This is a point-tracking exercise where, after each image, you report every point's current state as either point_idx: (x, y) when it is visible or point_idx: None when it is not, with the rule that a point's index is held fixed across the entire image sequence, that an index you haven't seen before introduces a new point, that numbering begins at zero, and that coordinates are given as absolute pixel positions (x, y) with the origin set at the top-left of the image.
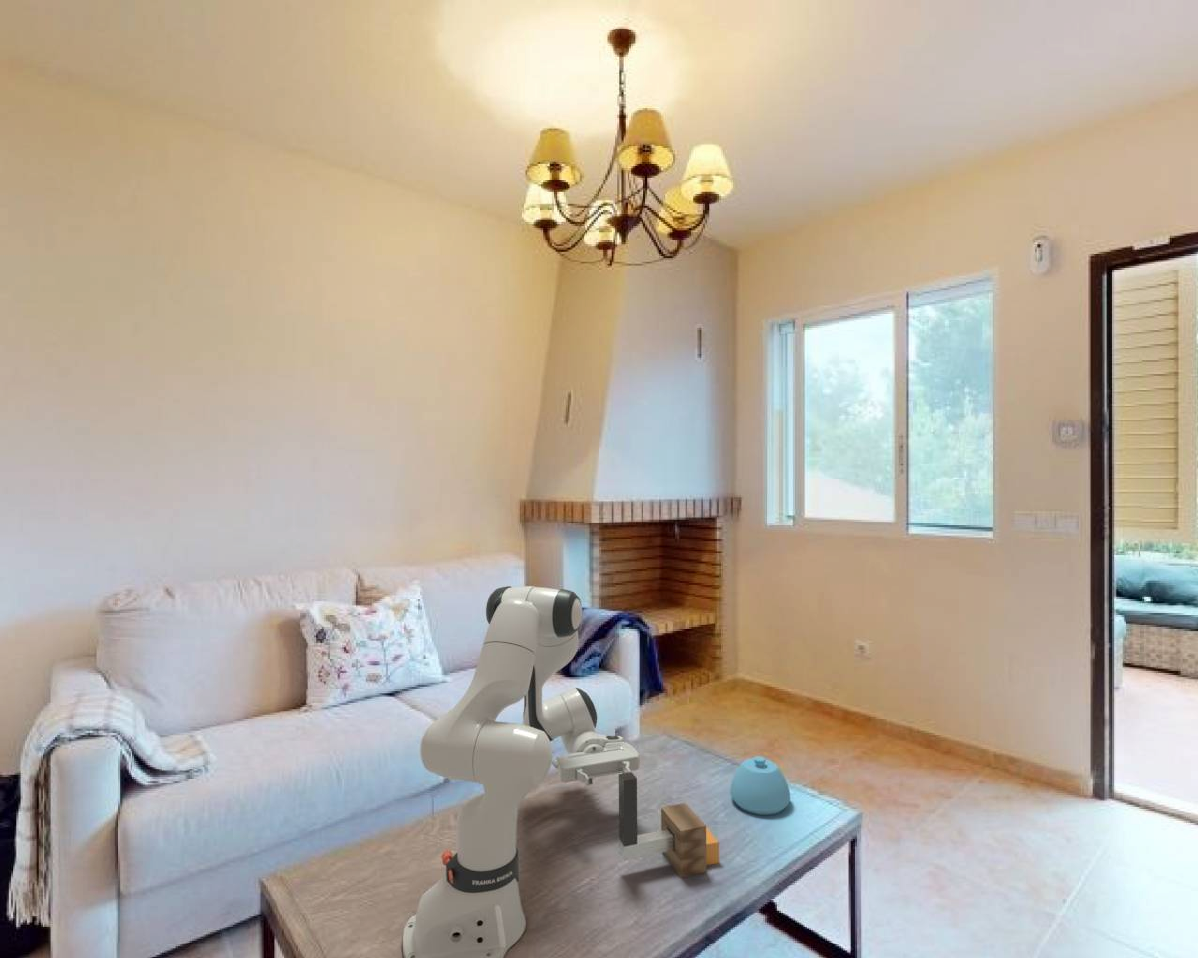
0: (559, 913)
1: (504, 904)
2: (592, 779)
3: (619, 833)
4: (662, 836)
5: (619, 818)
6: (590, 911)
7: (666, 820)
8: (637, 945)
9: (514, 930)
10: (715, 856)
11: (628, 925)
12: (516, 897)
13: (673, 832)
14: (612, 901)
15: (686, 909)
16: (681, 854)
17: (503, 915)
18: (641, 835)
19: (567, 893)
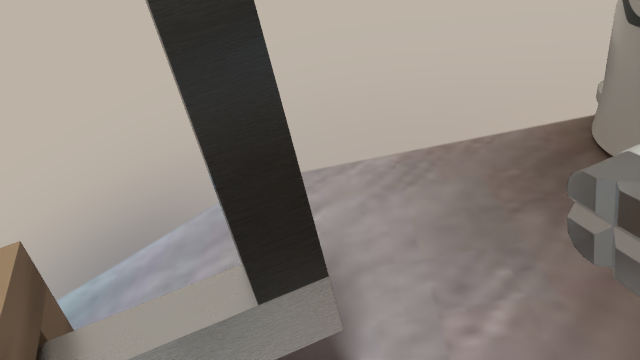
0: (529, 197)
1: (616, 9)
2: (568, 187)
3: (319, 248)
4: (101, 332)
5: (299, 176)
6: (437, 218)
7: None
8: (307, 176)
9: (600, 98)
10: None
11: (326, 207)
12: (617, 48)
13: (35, 330)
14: (375, 258)
15: (159, 274)
16: (68, 325)
17: (612, 28)
18: (206, 320)
19: (542, 256)
